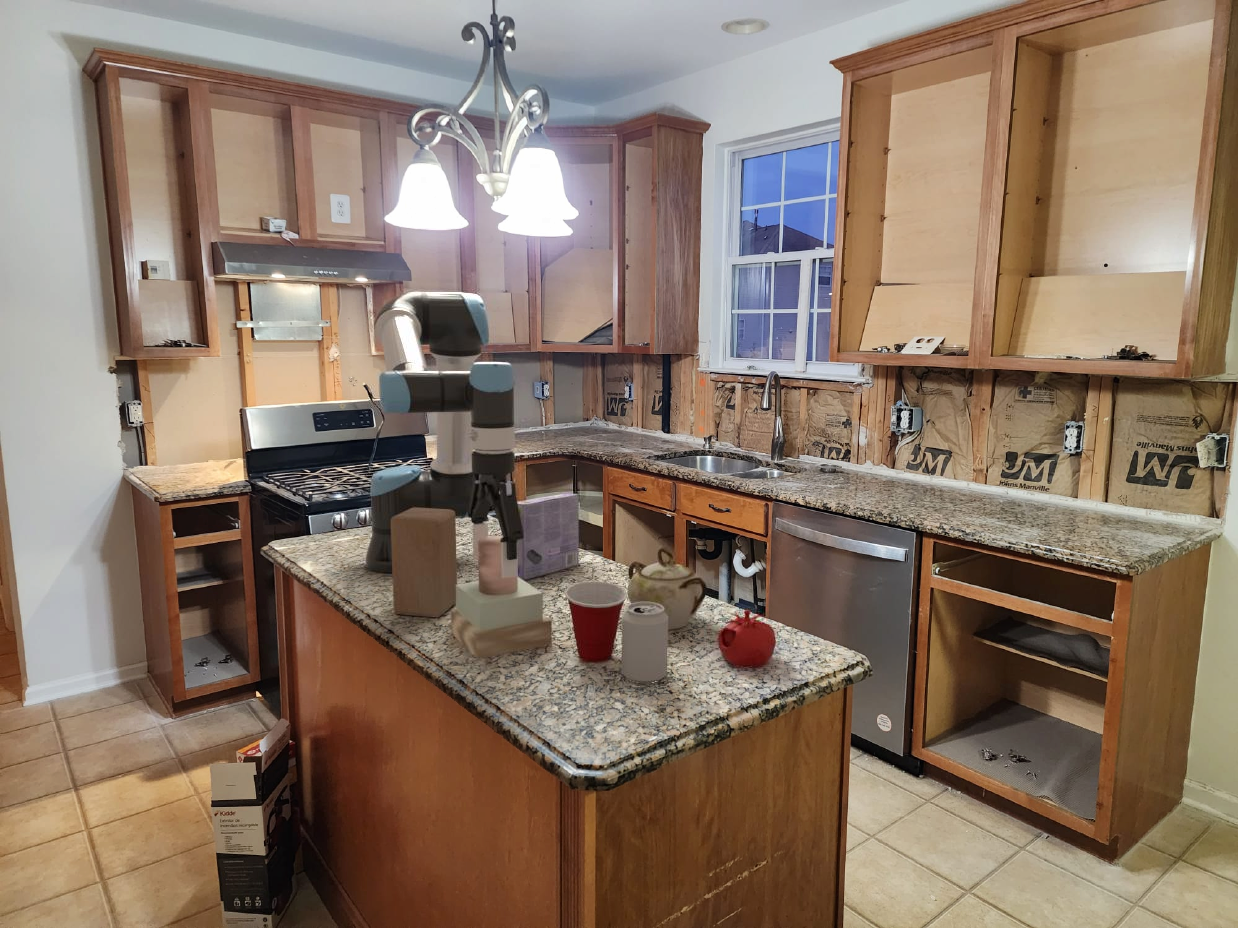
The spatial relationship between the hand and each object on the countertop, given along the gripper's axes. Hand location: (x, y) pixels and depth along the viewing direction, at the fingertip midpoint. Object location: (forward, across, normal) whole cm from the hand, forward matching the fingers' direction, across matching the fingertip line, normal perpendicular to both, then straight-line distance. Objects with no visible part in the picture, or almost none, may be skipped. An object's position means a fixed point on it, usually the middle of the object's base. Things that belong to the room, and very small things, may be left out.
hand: (494, 566), depth 145 cm
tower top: (+9, 0, +1) cm, 9 cm away
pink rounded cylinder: (+4, 0, +1) cm, 4 cm away
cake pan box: (+14, -34, +27) cm, 46 cm away
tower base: (+14, 0, +1) cm, 14 cm away
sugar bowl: (+14, +8, +32) cm, 36 cm away
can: (+14, +27, +15) cm, 34 cm away
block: (+14, -22, -6) cm, 27 cm away
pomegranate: (+14, +30, +34) cm, 47 cm away
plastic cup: (+14, +16, +12) cm, 24 cm away
